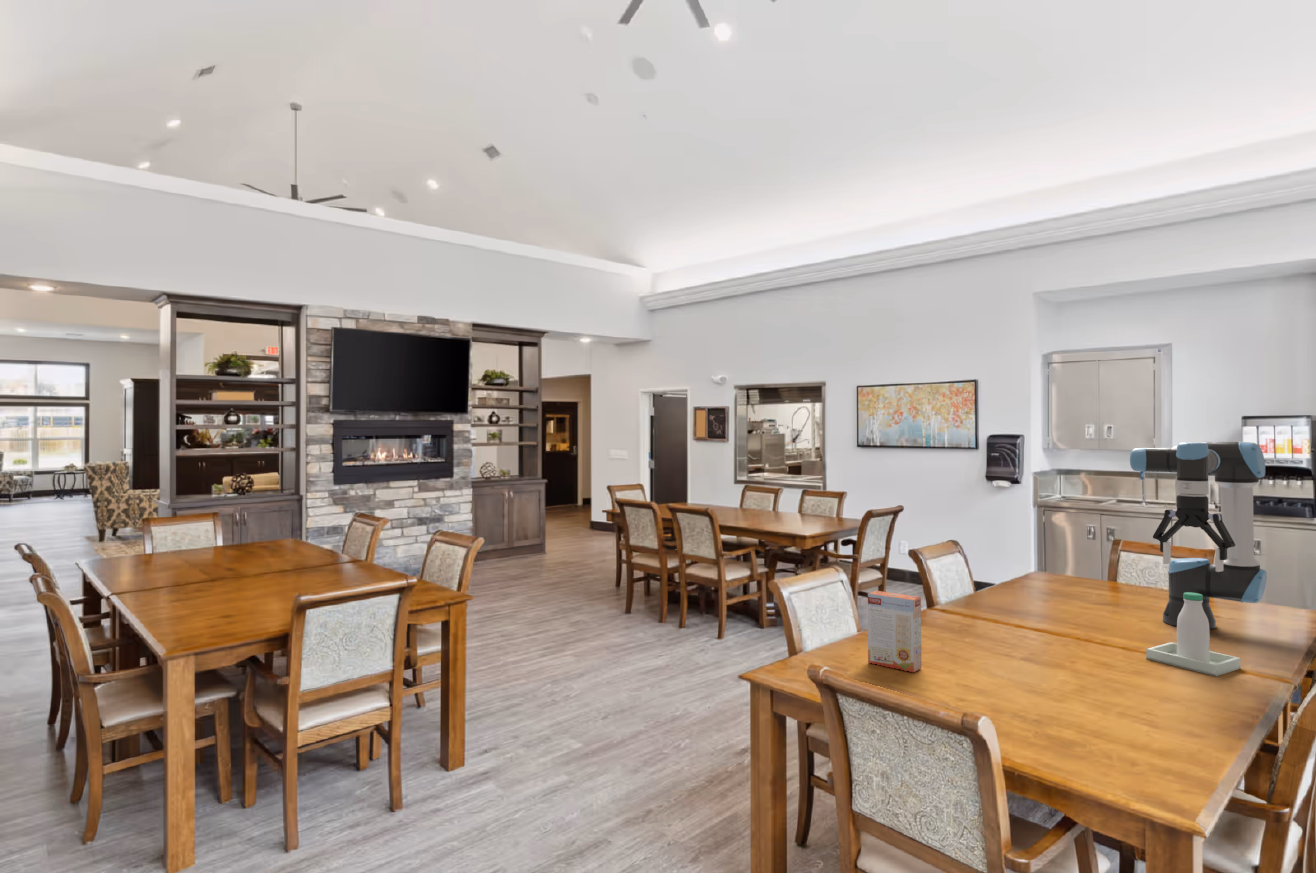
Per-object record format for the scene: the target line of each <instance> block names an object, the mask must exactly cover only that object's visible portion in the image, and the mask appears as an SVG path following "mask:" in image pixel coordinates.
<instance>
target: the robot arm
mask: <svg viewBox="0 0 1316 873" xmlns="http://www.w3.org/2000/svg"><path fill="white" fill-rule="evenodd" d="M1129 464H1130V467H1131V469H1132V470H1133V472H1134V471H1135V472H1143V473H1170V474H1171V473H1176V494H1178V495H1177V496H1176V510H1173V509H1171V508H1170V509H1165V510H1164V513H1163V518H1162V519H1161V521H1160V523H1159V525H1158V526H1157V529H1155V531H1154V533H1153V535H1152V539H1154V540H1157V541H1159V551H1160V553H1162V561H1163V562H1162V564H1163V565H1168V572H1167V573H1168V601H1167V604H1166V606H1165V609H1164V610H1163V613H1162V622H1163V623H1165V624H1167V625H1171V626H1174V627H1177V619H1178V616H1179V613H1180V612H1181V610H1182V608H1183V606H1184V600H1183V599H1184V598H1183V594H1184V593H1186V592H1192V593H1199V594H1202V595H1203V602H1202V607H1203V610H1204V612H1205V614H1206V616H1207V618H1208V621H1209V630H1213V629H1216V627H1217V624H1216V623H1217V622H1216V618H1215V615H1214V613H1213V611H1212V607H1211V605H1210V598H1211V599H1216V600H1217V599H1219V600H1226V601H1232V602H1240V603H1242V604H1243V603H1247V604H1248V603H1249V604H1258V603H1259V602H1260V601H1261V600H1262V599H1263V596H1264V593H1265V589H1266V587H1267V586H1266V585H1267V577H1268V576H1267V570H1265V569H1264V568H1261V563H1260V562H1259V561H1258V560H1257V559H1255V548H1254V547H1255V546H1254V545H1255V544H1254V543H1255V540H1254V537H1255V536H1254V535H1255V534H1254V533H1255V531H1254V487H1255V486H1257V485H1258V484H1259V483H1260V479H1261V478H1264V477H1265V476H1266V462H1265V456H1264V452H1263V451H1262V448H1261V447H1260V445H1259V444H1257V443H1255V442H1250V441H1249V442H1247V441H1200V442H1178V444H1177V445H1175V446H1172V447H1156V448H1155V447H1153V448H1152V447H1151V448H1150V447H1140V448H1139V447H1136V448H1133V449H1132V450H1131V452H1130V455H1129ZM1210 476H1213V477H1214V483H1216V484H1217V485H1218V486H1219V487H1220V512H1219V513H1209V505H1210V504H1209V497H1208V496H1207V495H1209V489H1210V488H1209V477H1210ZM1175 516H1176V518H1177V520H1176V522H1174V524H1173V525H1172V526H1171V527H1169V529H1167V528H1168V526H1169V525H1170V523H1171V521H1172V519H1173V518H1174V517H1175ZM1208 520H1211V521H1212V522H1213V524H1214V526H1215V528H1216V530H1217V532H1218V533H1219V534H1218V533H1217V532H1216V530H1214V528H1213V527H1212V525H1211V524H1210V523H1209V522H1208ZM1182 527H1186V528H1187V527H1192V528H1200V529H1201V530H1202V531H1203V532H1204V533H1205V534H1206V535H1207V536H1208V537H1209V538H1210V539H1211V540H1212V542H1214V544H1215V545H1216V546H1217V547H1218V548H1215V563H1211V561H1210V560H1209V559H1208V558H1201V557H1187V558H1185V557H1183V558H1176V559H1175V558H1174V559H1171V558H1172V555H1171V554H1172V552H1171V551H1172V550H1171V547H1172V546H1171V544H1172V543H1171V541H1169V540H1170V539H1171V538H1172V537H1173V536H1174V535H1175V534H1176V533H1177V532H1178V531H1180V529H1181V528H1182ZM1166 529H1167V531H1166Z"/></svg>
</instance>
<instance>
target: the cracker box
mask: <svg viewBox="0 0 1316 873" xmlns="http://www.w3.org/2000/svg"><path fill="white" fill-rule="evenodd" d="M867 663H868V664H871V663H872V664H871V665H875V664H877V665H876V666H880V665H881V666H882V667H884V666H885V668H889V667H890V669H894V668H897V669H896V670H898V669H901V670H900V671H903V670H904V671H903V672H907V671H909V672H908V673H911V672H914V673H916V672H917V671H919V670H921V669H922V597H921V596H915V595H908V594H902V593H895V592H887V591H881V590H874V591H871V592H868V593H867Z"/></svg>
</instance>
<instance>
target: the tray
mask: <svg viewBox="0 0 1316 873" xmlns="http://www.w3.org/2000/svg"><path fill="white" fill-rule="evenodd" d="M1145 650H1146V652H1145V654H1146V659H1147V660H1150V661H1153V662H1156V663H1157V662H1158V663H1161V664H1165V665H1169V666H1173V667H1176V668H1177V667H1178V668H1182V669H1185V670H1189V671H1193V672H1197V673H1201V674H1205V675H1208V676H1209V675H1210V676H1213V677H1218V676H1221V675H1225V674H1229V673H1230V672H1235V671H1236V670H1240V669H1241V666H1242V665H1241V659H1242V658H1241V657H1238V656H1234V655H1230V654H1224V653H1220V652H1215V651H1212V650H1210V661H1209V663H1207V662H1203V661H1199V660H1195V659H1190V658H1186V657H1182V656H1178V655H1177V642H1172V641H1170V642H1167V643H1164V644H1159V645H1155V646H1152V647H1149V648H1146V649H1145Z"/></svg>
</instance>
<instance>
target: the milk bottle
mask: <svg viewBox="0 0 1316 873" xmlns="http://www.w3.org/2000/svg"><path fill="white" fill-rule="evenodd" d="M1183 598H1184V599H1183V600H1184V606H1183V608H1182V610H1181V612H1180V613H1179V616H1178V619H1177V626H1176V643H1177V655H1178V656H1182V657H1186V658H1190V659H1195V660H1199V661H1203V662H1207V663H1209V661H1210V651H1211V650H1210V648H1211V647H1210V646H1211V645H1210V641H1211V640H1210V629H1209V621H1208V618H1207V616H1206V614H1205V612H1204V610H1203V607H1202V602H1203V595H1202V594H1199V593H1192V592H1186V593H1184V594H1183Z"/></svg>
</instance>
